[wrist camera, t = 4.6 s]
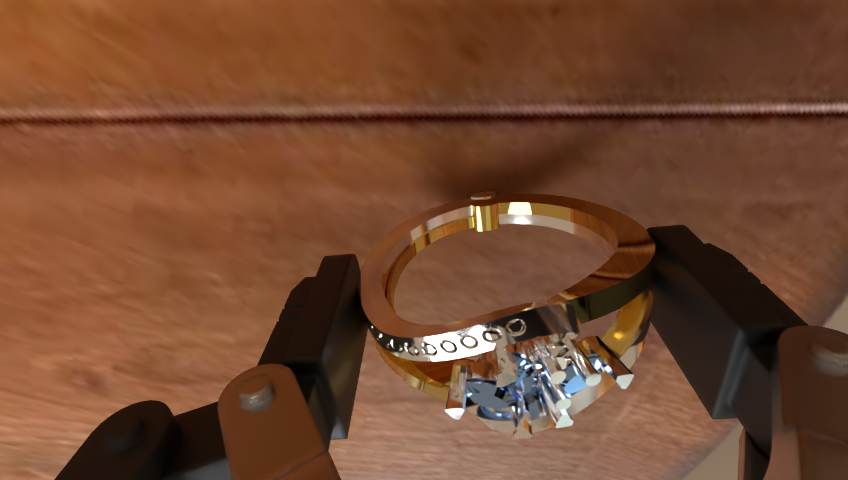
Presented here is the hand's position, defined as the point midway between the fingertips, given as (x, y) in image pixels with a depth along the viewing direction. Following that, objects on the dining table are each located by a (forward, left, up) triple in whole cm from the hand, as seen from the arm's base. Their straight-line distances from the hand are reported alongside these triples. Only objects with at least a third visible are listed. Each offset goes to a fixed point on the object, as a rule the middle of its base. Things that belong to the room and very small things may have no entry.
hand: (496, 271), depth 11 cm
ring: (0, 0, -4) cm, 4 cm away
